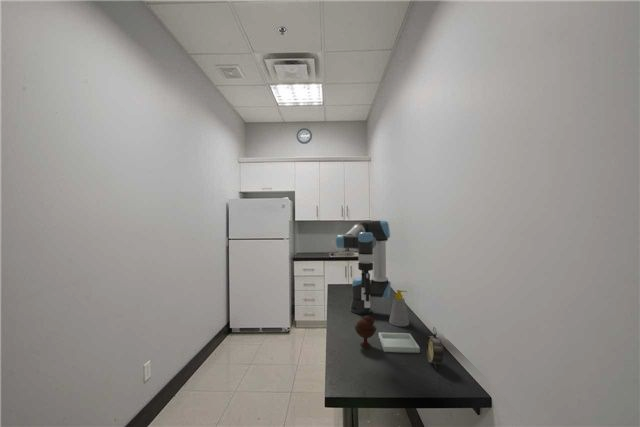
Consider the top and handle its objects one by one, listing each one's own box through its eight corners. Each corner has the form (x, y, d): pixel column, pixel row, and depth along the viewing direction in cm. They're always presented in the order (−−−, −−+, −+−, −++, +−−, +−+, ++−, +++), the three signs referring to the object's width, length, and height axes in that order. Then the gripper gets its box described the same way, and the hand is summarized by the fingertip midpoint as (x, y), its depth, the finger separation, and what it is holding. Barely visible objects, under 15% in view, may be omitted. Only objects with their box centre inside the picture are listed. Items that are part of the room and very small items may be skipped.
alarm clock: (425, 358, 125) (425, 322, 126) (437, 358, 125) (437, 323, 125) (432, 370, 115) (432, 332, 115) (446, 371, 114) (445, 332, 115)
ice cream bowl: (362, 339, 146) (362, 311, 146) (380, 345, 138) (380, 316, 138) (350, 345, 138) (350, 315, 139) (368, 352, 130) (368, 321, 131)
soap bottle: (407, 328, 161) (407, 293, 162) (386, 324, 167) (386, 291, 168) (411, 321, 172) (410, 289, 173) (391, 318, 178) (391, 287, 179)
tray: (378, 337, 148) (378, 332, 148) (409, 337, 147) (409, 333, 147) (384, 351, 131) (384, 346, 131) (419, 352, 130) (419, 347, 130)
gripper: (356, 259, 153) (356, 297, 152) (360, 265, 128) (360, 311, 127) (369, 259, 152) (369, 297, 151) (376, 265, 127) (376, 311, 126)
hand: (365, 303), depth 139 cm, fingers open, 13 cm apart
